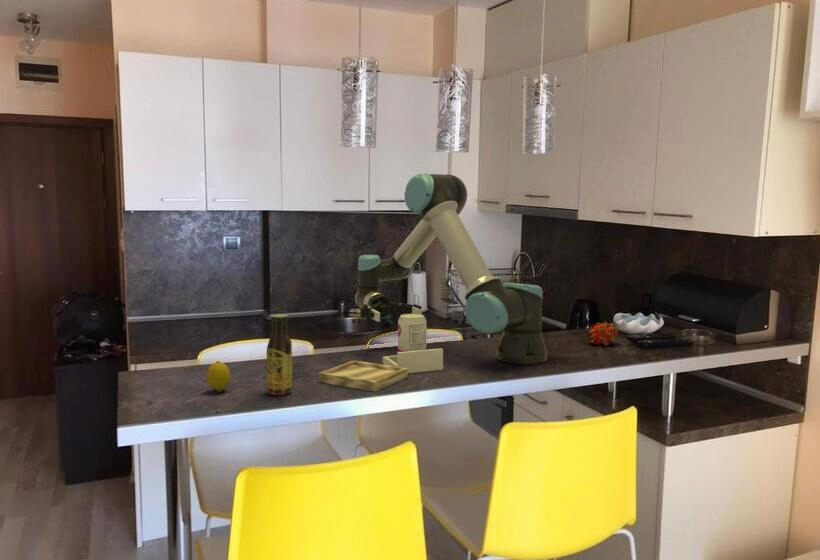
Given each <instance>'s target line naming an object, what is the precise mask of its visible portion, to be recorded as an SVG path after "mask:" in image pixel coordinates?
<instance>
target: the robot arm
mask: <svg viewBox="0 0 820 560" xmlns="http://www.w3.org/2000/svg"><path fill="white" fill-rule="evenodd" d="M467 200H468V190H467V187H466V184H465V183H464V181H463V180H462V179H461V178H459V177H458V176H456V175H453V174H438V173H435V174H433V173H427V172H425V173H418V174H415V175H413V176H412V177H411V178H410V179H409V180H408V182H407V184H406V186H405V192H404V202H405V205H406V207H407V209H408V210H409V211H411V212H413V213H416V214H419V215H420V217H421V220H420V221H419V222H418V223H417V224H416V226H414V229H413V230H412V231H411V232H410V234H408V236H407V237H406V239H405V240H404V241H403V242H402V244H400V246H399V248H397V250H396V251H395V253H394V254H393V255H392V256H391V257H390V258H386V259H381V258H380V255H377V254H362V255H360V256H359V257H358V261H357V278H358V287H357V292H355V295H354V301H355V304H356V306H357V307H358V308H359V310H360V311H359V313H360V318H362V319H363V318H365V317H366V320H367V321H371V319H372V320H374V321H376V322H381V319H382V318H383V319H384V318H385V317H387V316H389V315H391V314H392V315H398V314H422V315H423V310H422V305H418V303H417V304H411V303H405V302H402V301H401V302H400V301H399V303H398V302H392V300H391V299H390V297H388V296H386V295H384V294H382V293H381V282H387V281H397V280H399V281H401V280H403V279H407V278H409V277H410V276H412V273H413V269H414V267H413V266H414V264H415V263H416V262H417V260H418V259H419V258H420V257H421V255H422V254H423V253H424V252H425V250H427V248H428V247H429V246H430V245H431V244H432V242H433V241H435V239H436V237H437V238H438V240H439V242H440V244H441V246H442V248H443V249H444V251H445V253H446V255H447V257H448V258H449V261H450V262H451V264H452V265H453V268H454V270H455V271H456V273H457V275H458V278H459V279H460V281H461V282H462V284H463V286H464V288H465V290H466V292H465V295H464V299H465V300H466V303H465V306H464V308H465V310H464V312H465V317H466V319H467V322H468V323H469V324H470V326H471V327H472V328H473V329H474V330H476V331H478V332H481V333H486V334H487V333H489V334H490V333H498V332H501V331H502V334H501V338H500V341H499V344H498V347H497V349H496V358H497V359H496V360H499V361H501V362H503V363H508V364H514V365H515V364H516V365H534V364H535V365H536V364H542V363H544V362H547V361H548V352H547V348H546V345H545V342H544V338H543V334H542V333H543V332H542V331H543V329H542V328H543V327H542V325H543V300H544V297H543V289H542V287H541V286H539V285H537V284H528V283H527V284H526V283H515V282H504V283H503V282H502V279H501V278H499V277H496V276H493V275H492V273H491V271H490V269H489V268H488V266H487V264H486V262H485V260H484V259H483V257H482V255H481V253H480V252H479V250H478V248H477V246H476V245H475V243H474V241H473V239H472V236H470V234H469V232H468V230H467V228H466V227H465V225H464V223H463V221H462V219H461V217H460V214H461V212H462V211H463V210H464V207H465V206H466V204H467Z"/></svg>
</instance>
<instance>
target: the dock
mask: <svg viewBox="0 0 820 560" xmlns="http://www.w3.org/2000/svg"><path fill="white" fill-rule="evenodd" d="M382 365H388V366H395V367H402V368H408V374H414V373H424V372H425V373H426V372H432V371H433V372H434V371H442V370H444V349H443V348H431V349H430V348H429V349H426V350H418V351H407V352H398V351H397V355H389V356H388V355H387V356H382Z"/></svg>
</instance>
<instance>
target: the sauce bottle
mask: <svg viewBox="0 0 820 560" xmlns="http://www.w3.org/2000/svg"><path fill="white" fill-rule="evenodd" d="M270 321H271V334H270V337H269V340H268V343H267V347H266V391H267V394H268V395H271V396H278V397H280V396H285V395H288V394H290V393H291V392H292V385H293V384H292V383H293V350H292V348H293V346H292V345H293V344H292V340H291V339H292V338H290V336H289V334H288V322H289V316H288V314H284V313H279V314H278V313H277V314H273V315H271V320H270Z"/></svg>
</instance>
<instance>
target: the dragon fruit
mask: <svg viewBox="0 0 820 560" xmlns="http://www.w3.org/2000/svg"><path fill="white" fill-rule="evenodd" d="M589 329H590V330H589V331H588V333H587V334H586V337H587V338H588V339H589V340H590V343H591V345H593V346H594V345H595V346H600V345H603V344H604V347H606V346H609V345H612V342H616V341H618V340H619V338H617V337H619V328H618V327H617V326H615V324H614V323H613V322H610V323H608V322H607V321H606V320H604V321H603V323H600V322H596V323H595V324H594V325H591V326H590V328H589Z"/></svg>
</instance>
